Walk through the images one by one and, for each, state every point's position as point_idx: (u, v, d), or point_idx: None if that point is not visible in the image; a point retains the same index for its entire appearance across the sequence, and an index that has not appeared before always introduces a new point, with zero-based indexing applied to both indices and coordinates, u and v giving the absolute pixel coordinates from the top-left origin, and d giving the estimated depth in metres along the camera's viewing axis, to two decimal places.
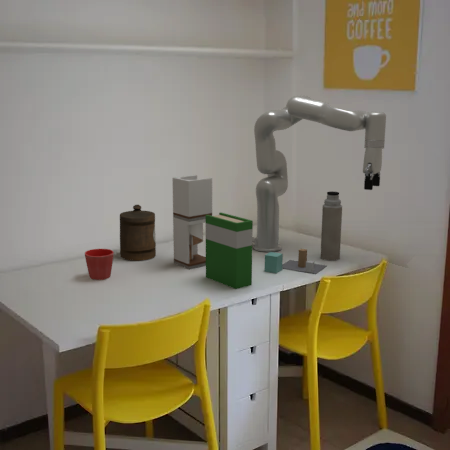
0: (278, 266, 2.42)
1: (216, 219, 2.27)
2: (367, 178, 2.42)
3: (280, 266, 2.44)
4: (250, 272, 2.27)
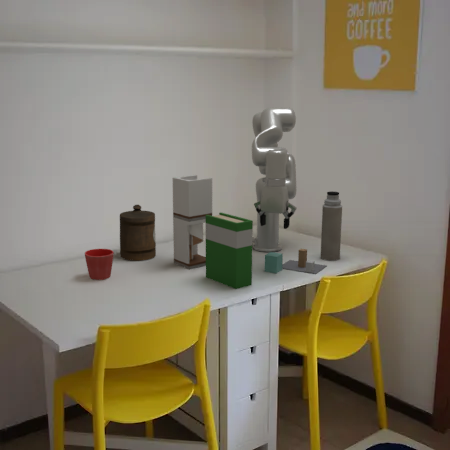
0: (278, 266, 2.42)
1: (216, 219, 2.27)
2: (289, 216, 2.37)
3: (280, 266, 2.44)
4: (250, 272, 2.27)
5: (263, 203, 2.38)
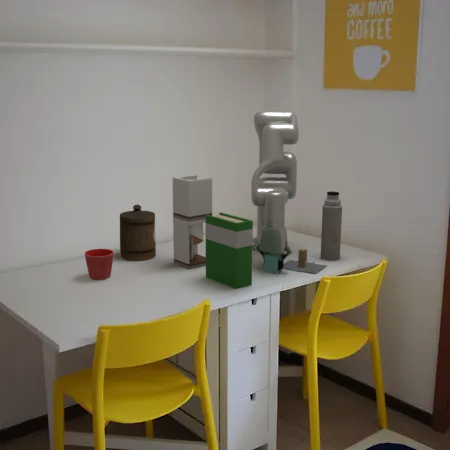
0: None
1: (216, 219, 2.27)
2: (283, 258, 2.42)
3: None
4: (250, 272, 2.27)
5: (262, 243, 2.42)
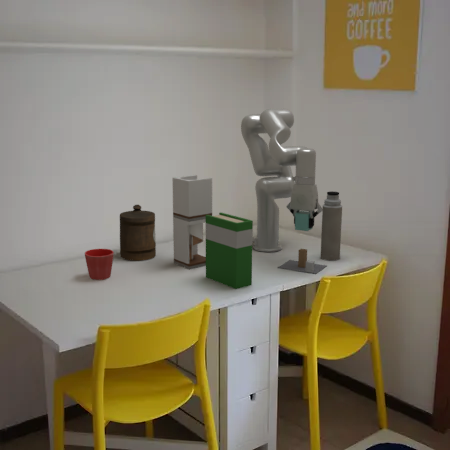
0: None
1: (216, 219, 2.27)
2: (314, 216, 2.43)
3: None
4: (250, 272, 2.27)
5: (293, 201, 2.43)
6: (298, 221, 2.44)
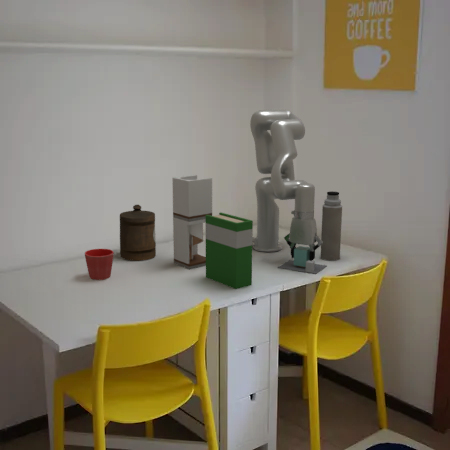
0: (307, 260, 2.47)
1: (216, 219, 2.27)
2: (315, 249, 2.45)
3: None
4: (250, 272, 2.27)
5: (292, 235, 2.46)
6: (297, 257, 2.47)
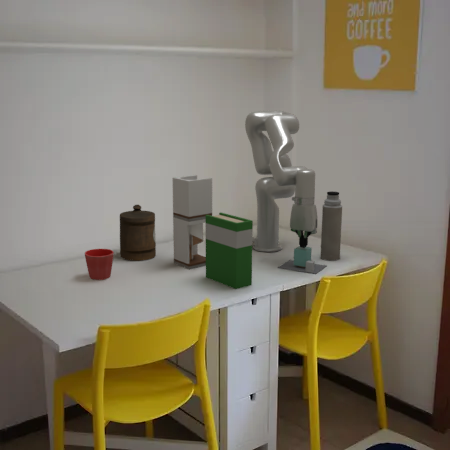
0: (307, 260, 2.47)
1: (216, 219, 2.27)
2: (308, 236, 2.46)
3: (309, 260, 2.48)
4: (250, 272, 2.27)
5: (292, 221, 2.45)
6: (297, 257, 2.47)
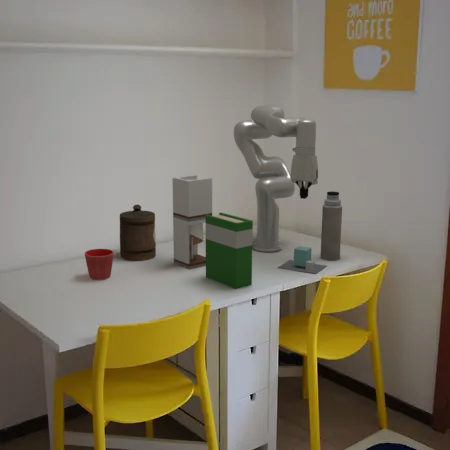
0: (307, 260, 2.47)
1: (216, 219, 2.27)
2: (308, 187, 2.46)
3: (309, 260, 2.48)
4: (250, 272, 2.27)
5: (293, 172, 2.45)
6: (297, 257, 2.47)
